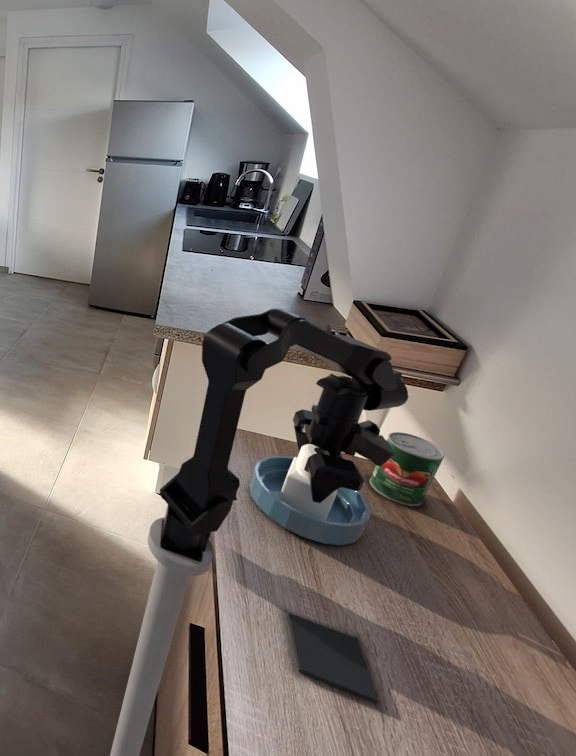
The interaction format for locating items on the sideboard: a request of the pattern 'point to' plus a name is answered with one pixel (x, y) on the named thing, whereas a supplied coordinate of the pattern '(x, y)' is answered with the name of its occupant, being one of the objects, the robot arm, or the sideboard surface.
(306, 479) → the medicine bottle
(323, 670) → the coaster
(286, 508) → the blue saucer dish
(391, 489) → the canned tomato
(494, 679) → the sideboard surface
